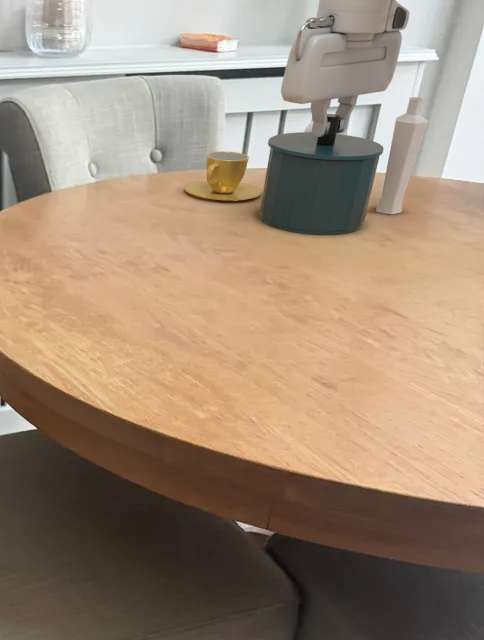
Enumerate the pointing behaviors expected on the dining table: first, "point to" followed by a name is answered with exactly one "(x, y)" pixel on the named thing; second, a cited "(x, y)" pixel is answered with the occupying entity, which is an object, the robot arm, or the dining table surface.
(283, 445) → the dining table surface
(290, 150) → the tin lid
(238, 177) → the cup
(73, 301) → the dining table surface
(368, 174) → the tin
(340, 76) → the robot arm
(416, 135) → the perfume bottle
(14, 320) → the dining table surface
